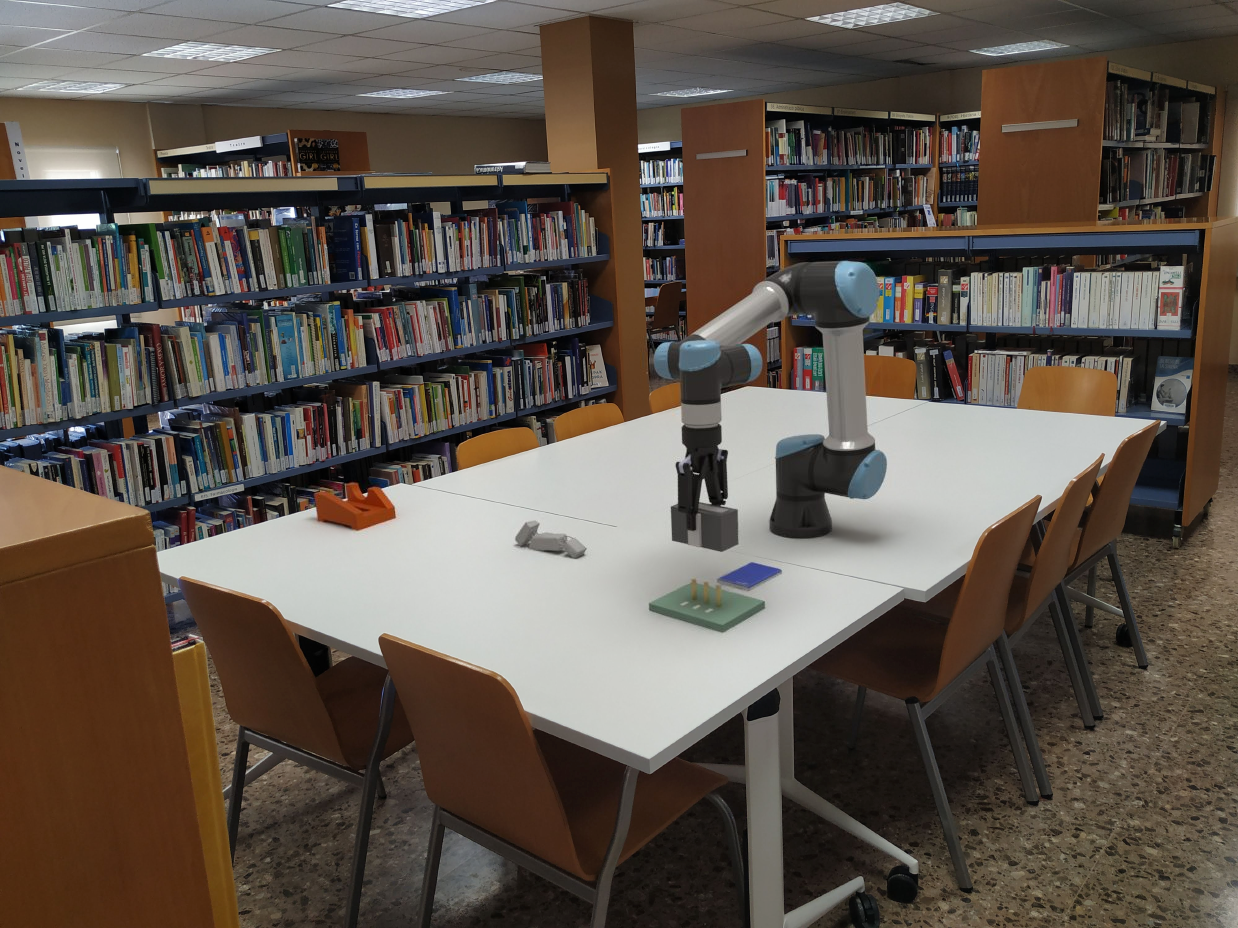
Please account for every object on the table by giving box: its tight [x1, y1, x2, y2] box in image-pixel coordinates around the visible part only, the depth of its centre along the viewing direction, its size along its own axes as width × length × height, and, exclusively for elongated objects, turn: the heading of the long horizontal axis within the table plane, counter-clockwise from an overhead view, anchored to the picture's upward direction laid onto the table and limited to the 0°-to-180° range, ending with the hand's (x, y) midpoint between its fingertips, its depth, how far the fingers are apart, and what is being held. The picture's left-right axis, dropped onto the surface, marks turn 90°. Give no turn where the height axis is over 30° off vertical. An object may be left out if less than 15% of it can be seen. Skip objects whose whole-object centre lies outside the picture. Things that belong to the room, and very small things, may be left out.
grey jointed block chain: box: [514, 520, 588, 559], centre depth 223 cm, size 20×4×7 cm, turn 53°
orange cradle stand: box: [313, 482, 397, 532], centre depth 256 cm, size 18×13×8 cm
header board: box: [648, 578, 766, 633], centre depth 183 cm, size 14×18×6 cm
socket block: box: [670, 501, 739, 553], centre depth 180 cm, size 5×12×7 cm, turn 48°
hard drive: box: [716, 561, 783, 592], centre depth 199 cm, size 2×8×12 cm
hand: (704, 540), depth 180 cm, fingers closed on socket block, 5 cm apart
